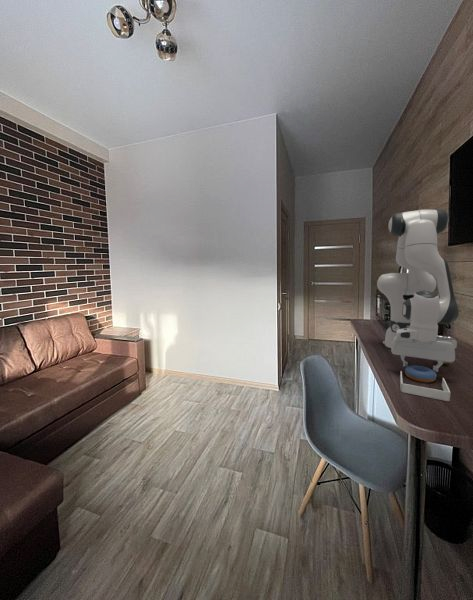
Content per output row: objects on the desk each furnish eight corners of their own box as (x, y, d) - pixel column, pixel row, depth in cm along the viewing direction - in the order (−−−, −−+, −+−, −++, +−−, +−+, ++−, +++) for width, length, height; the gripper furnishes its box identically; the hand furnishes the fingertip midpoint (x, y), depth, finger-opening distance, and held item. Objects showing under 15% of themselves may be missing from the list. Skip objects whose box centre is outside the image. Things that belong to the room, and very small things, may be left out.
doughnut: (422, 384, 96) (424, 372, 96) (398, 375, 106) (399, 364, 105) (442, 383, 99) (443, 371, 99) (416, 375, 109) (418, 363, 109)
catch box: (399, 378, 102) (400, 370, 102) (443, 386, 96) (444, 378, 95) (400, 391, 91) (401, 383, 91) (449, 401, 85) (450, 392, 84)
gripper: (455, 335, 100) (452, 371, 102) (392, 329, 111) (390, 361, 112) (459, 339, 95) (455, 377, 97) (392, 332, 105) (390, 366, 107)
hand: (419, 368), depth 105 cm, fingers open, 8 cm apart
